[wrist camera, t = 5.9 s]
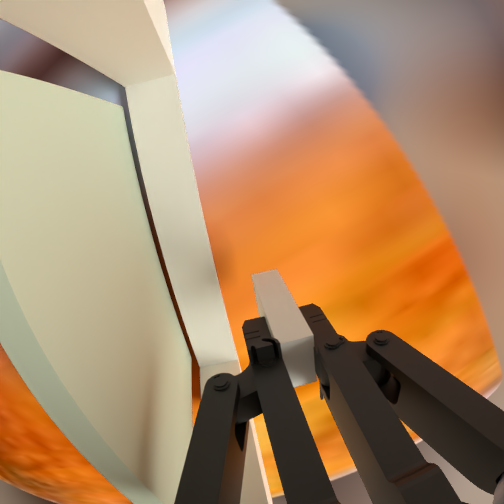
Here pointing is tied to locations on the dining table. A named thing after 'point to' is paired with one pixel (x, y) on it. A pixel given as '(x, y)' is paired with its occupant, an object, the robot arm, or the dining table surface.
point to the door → (89, 289)
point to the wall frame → (155, 164)
